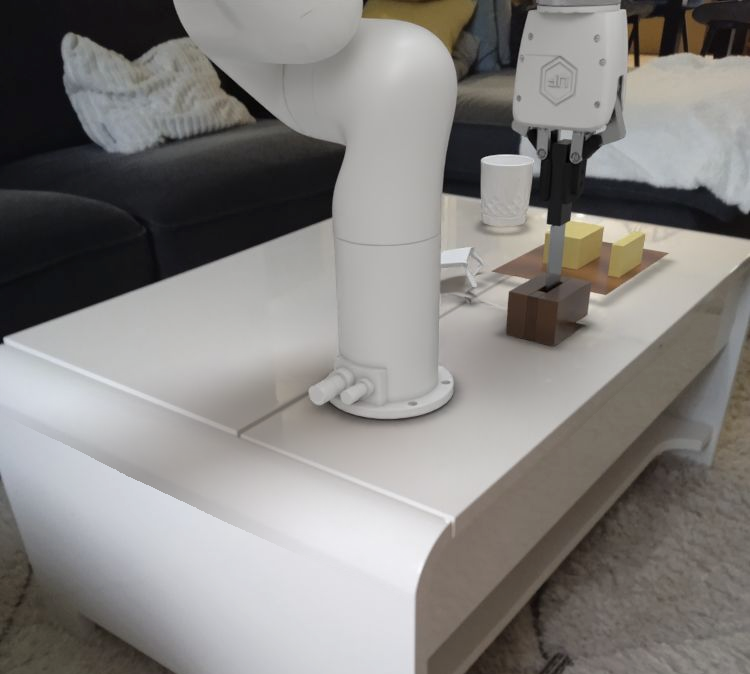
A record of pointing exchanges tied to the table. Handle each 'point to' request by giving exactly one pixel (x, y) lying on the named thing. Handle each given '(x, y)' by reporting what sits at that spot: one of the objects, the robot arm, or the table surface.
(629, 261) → the butter slice
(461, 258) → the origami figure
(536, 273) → the butter board
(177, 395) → the table surface
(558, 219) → the knife
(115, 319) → the table surface
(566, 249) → the butter block
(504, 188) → the white cup
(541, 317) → the knife block
